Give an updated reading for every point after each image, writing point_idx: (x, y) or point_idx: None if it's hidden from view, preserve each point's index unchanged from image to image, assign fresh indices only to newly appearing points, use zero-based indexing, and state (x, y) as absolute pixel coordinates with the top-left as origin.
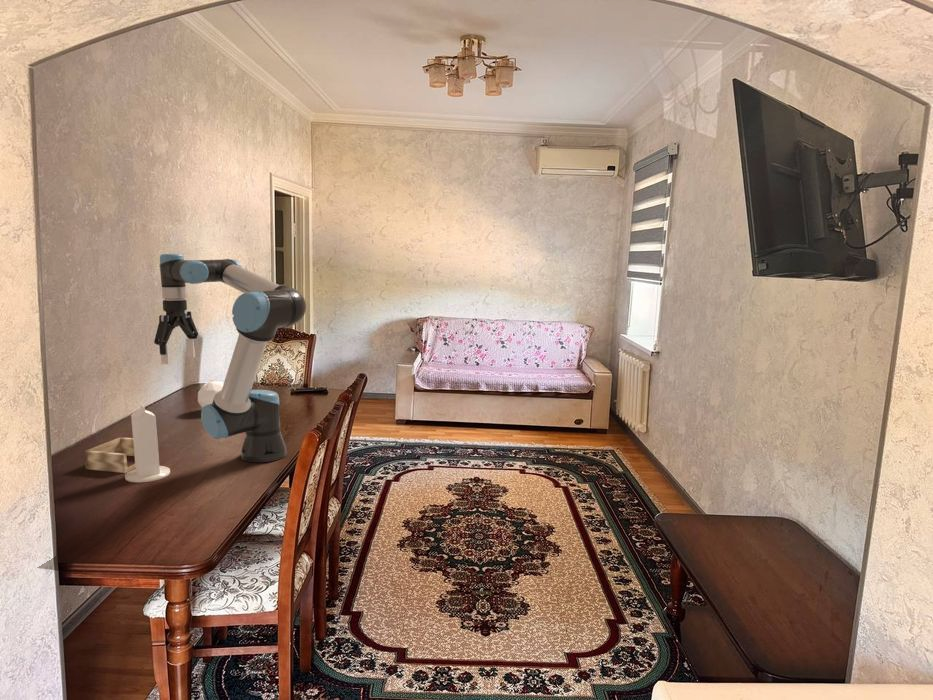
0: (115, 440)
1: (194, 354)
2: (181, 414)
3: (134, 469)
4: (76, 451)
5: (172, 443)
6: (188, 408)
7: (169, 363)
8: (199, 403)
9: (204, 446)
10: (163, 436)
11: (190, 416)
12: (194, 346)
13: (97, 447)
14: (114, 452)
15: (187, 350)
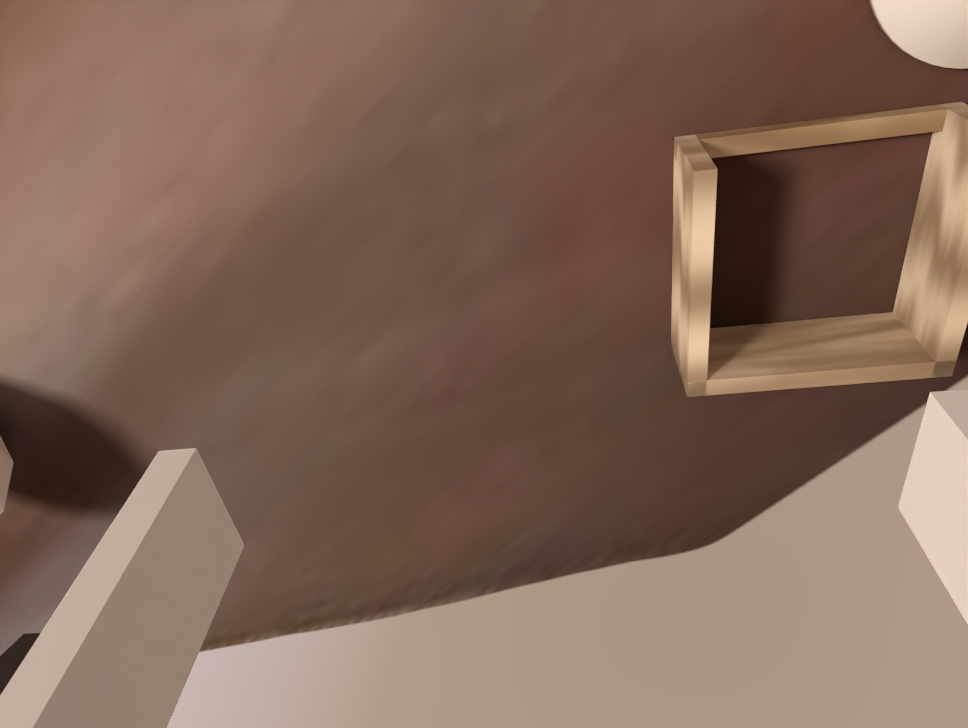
0: (744, 377)
1: (146, 485)
2: (105, 513)
3: (948, 65)
4: (689, 510)
5: (451, 245)
6: (29, 544)
7: (943, 398)
8: (5, 496)
9: (416, 23)
10: (384, 363)
11: (95, 465)
12: (12, 646)
13: (878, 367)
14: (744, 340)
15: (193, 635)
